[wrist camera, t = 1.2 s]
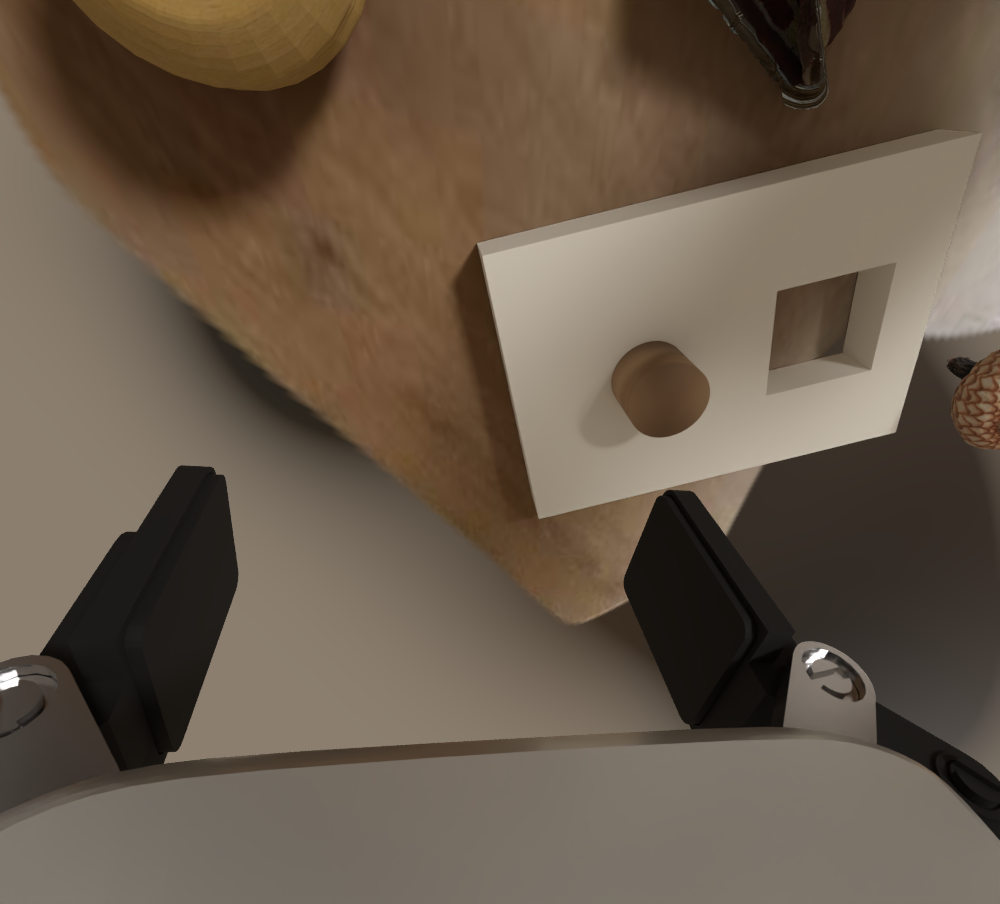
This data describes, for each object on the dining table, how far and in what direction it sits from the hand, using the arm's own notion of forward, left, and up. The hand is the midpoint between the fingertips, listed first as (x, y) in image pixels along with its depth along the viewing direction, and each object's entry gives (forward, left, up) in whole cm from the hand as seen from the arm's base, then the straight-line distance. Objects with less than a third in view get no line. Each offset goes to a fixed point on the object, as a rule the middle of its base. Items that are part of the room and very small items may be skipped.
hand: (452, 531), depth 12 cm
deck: (-17, +10, -24) cm, 31 cm away
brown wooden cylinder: (-12, +10, -21) cm, 26 cm away
